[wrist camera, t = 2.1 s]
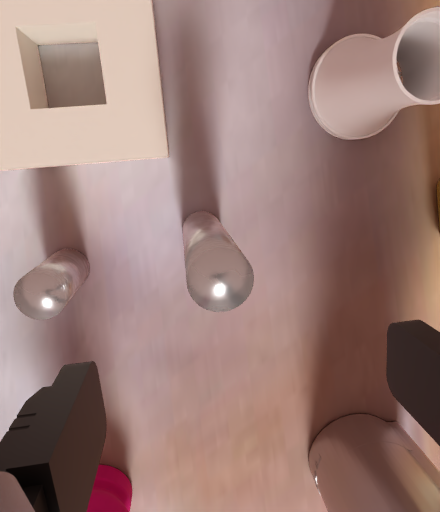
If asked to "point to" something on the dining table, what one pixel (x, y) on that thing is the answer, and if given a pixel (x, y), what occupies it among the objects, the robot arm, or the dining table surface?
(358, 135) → the vase
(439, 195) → the flower pot
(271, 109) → the dining table surface
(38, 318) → the short pin
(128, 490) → the pepper mill
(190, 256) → the tall pin
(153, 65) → the socket block
